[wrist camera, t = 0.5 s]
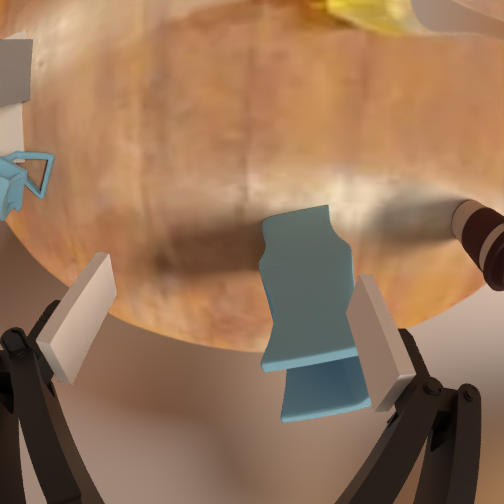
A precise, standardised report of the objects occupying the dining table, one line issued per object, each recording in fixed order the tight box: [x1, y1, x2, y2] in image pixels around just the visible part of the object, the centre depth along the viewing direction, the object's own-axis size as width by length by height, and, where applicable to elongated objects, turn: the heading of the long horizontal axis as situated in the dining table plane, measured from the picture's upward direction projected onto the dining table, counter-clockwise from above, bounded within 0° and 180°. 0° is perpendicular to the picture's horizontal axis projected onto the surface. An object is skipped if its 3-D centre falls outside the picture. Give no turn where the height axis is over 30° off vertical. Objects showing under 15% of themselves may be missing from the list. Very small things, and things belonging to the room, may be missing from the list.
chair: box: [0, 151, 54, 221], centre depth 33 cm, size 8×8×12 cm
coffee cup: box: [452, 200, 504, 291], centre depth 35 cm, size 10×10×15 cm
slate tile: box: [0, 39, 33, 107], centre depth 26 cm, size 10×2×9 cm, turn 174°
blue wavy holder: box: [259, 205, 371, 423], centre depth 34 cm, size 10×10×25 cm
